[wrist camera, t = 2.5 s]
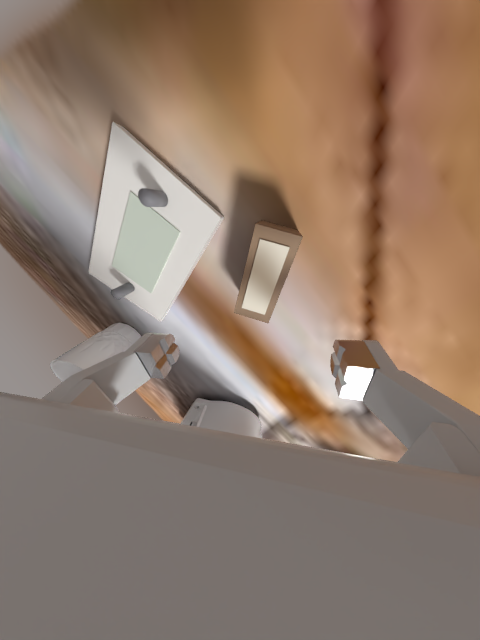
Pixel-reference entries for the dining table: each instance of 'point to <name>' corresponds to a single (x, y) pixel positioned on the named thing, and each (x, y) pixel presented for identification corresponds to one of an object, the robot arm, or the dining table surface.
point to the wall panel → (147, 227)
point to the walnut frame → (266, 269)
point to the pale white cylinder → (95, 350)
